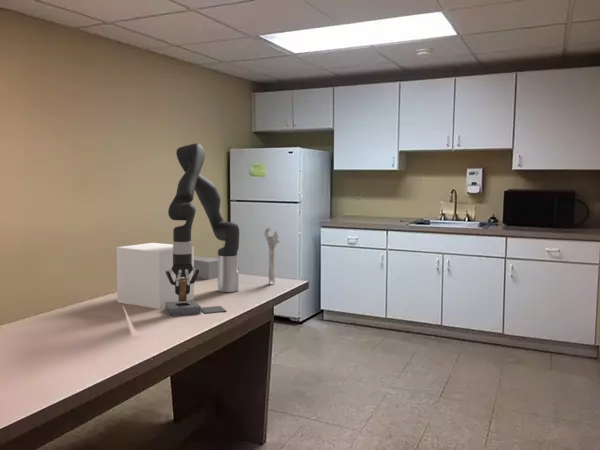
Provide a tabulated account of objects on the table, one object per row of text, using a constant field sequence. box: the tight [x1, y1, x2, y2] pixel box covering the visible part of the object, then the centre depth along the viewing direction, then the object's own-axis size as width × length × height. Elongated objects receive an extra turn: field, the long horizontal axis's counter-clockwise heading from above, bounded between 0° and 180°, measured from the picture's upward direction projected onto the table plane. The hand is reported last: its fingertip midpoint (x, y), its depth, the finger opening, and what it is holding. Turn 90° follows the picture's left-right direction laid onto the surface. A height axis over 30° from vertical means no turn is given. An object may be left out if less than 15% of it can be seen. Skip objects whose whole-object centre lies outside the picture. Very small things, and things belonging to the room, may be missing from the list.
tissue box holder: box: [194, 255, 239, 281], centre depth 293 cm, size 25×23×11 cm
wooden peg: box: [179, 278, 187, 302], centre depth 213 cm, size 3×3×9 cm
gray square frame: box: [164, 299, 202, 317], centre depth 214 cm, size 12×12×3 cm
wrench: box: [264, 227, 281, 285], centre depth 267 cm, size 8×2×30 cm, turn 70°
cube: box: [116, 242, 195, 310], centre depth 232 cm, size 25×21×24 cm
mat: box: [201, 305, 227, 315], centre depth 217 cm, size 9×9×1 cm
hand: (182, 294), depth 213 cm, fingers closed on wooden peg, 3 cm apart
